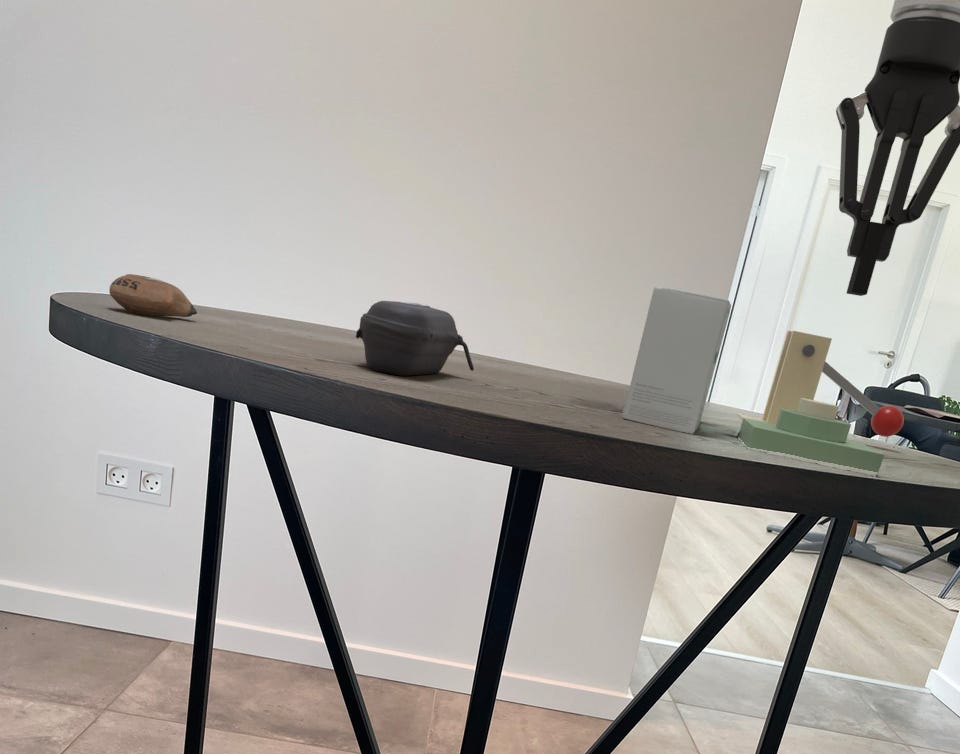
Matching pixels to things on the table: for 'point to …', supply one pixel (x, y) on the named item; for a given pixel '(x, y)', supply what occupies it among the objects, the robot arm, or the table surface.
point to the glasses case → (408, 338)
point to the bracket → (795, 373)
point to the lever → (870, 406)
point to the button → (817, 409)
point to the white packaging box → (676, 359)
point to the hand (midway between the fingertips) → (856, 293)
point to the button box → (810, 440)
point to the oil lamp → (150, 297)
